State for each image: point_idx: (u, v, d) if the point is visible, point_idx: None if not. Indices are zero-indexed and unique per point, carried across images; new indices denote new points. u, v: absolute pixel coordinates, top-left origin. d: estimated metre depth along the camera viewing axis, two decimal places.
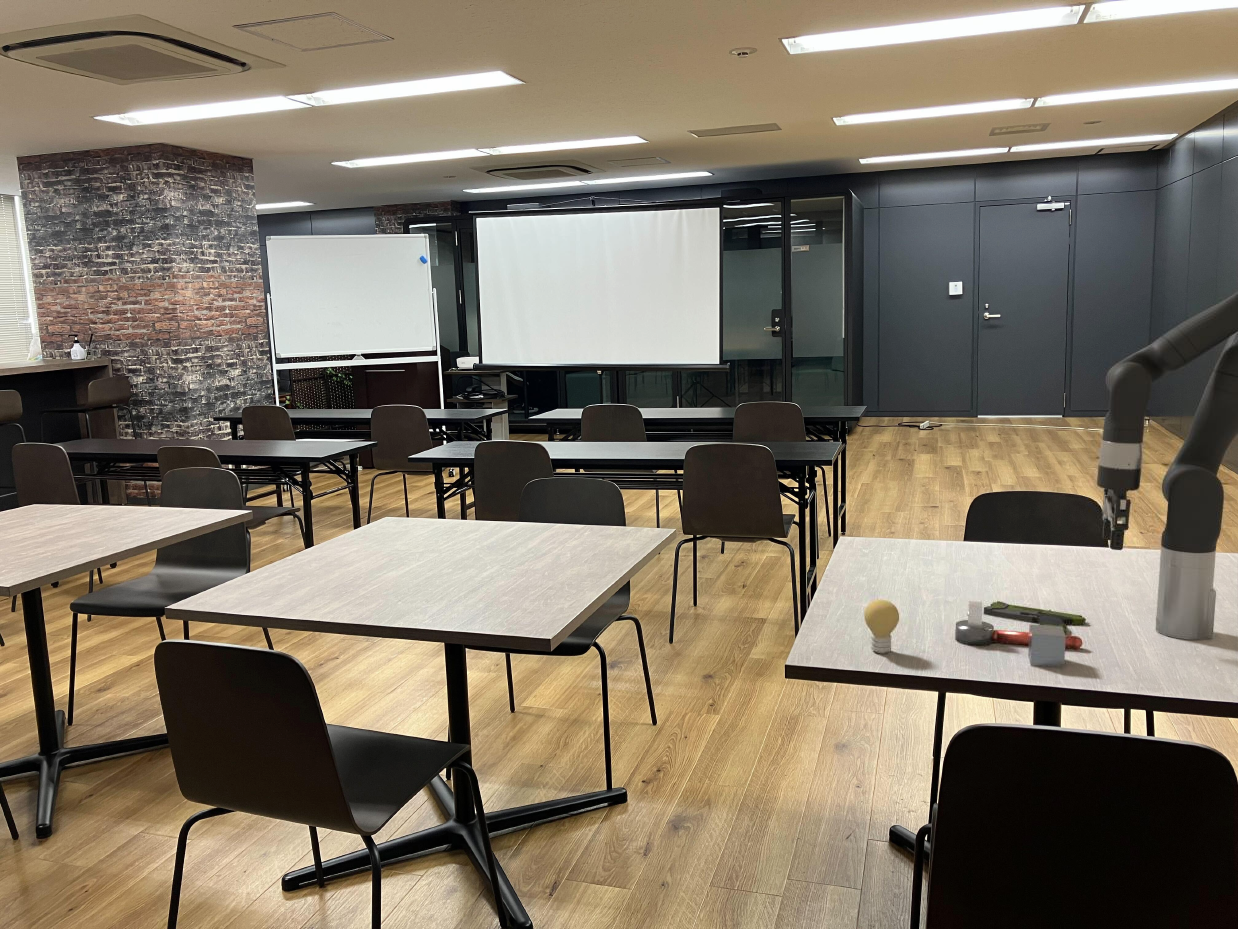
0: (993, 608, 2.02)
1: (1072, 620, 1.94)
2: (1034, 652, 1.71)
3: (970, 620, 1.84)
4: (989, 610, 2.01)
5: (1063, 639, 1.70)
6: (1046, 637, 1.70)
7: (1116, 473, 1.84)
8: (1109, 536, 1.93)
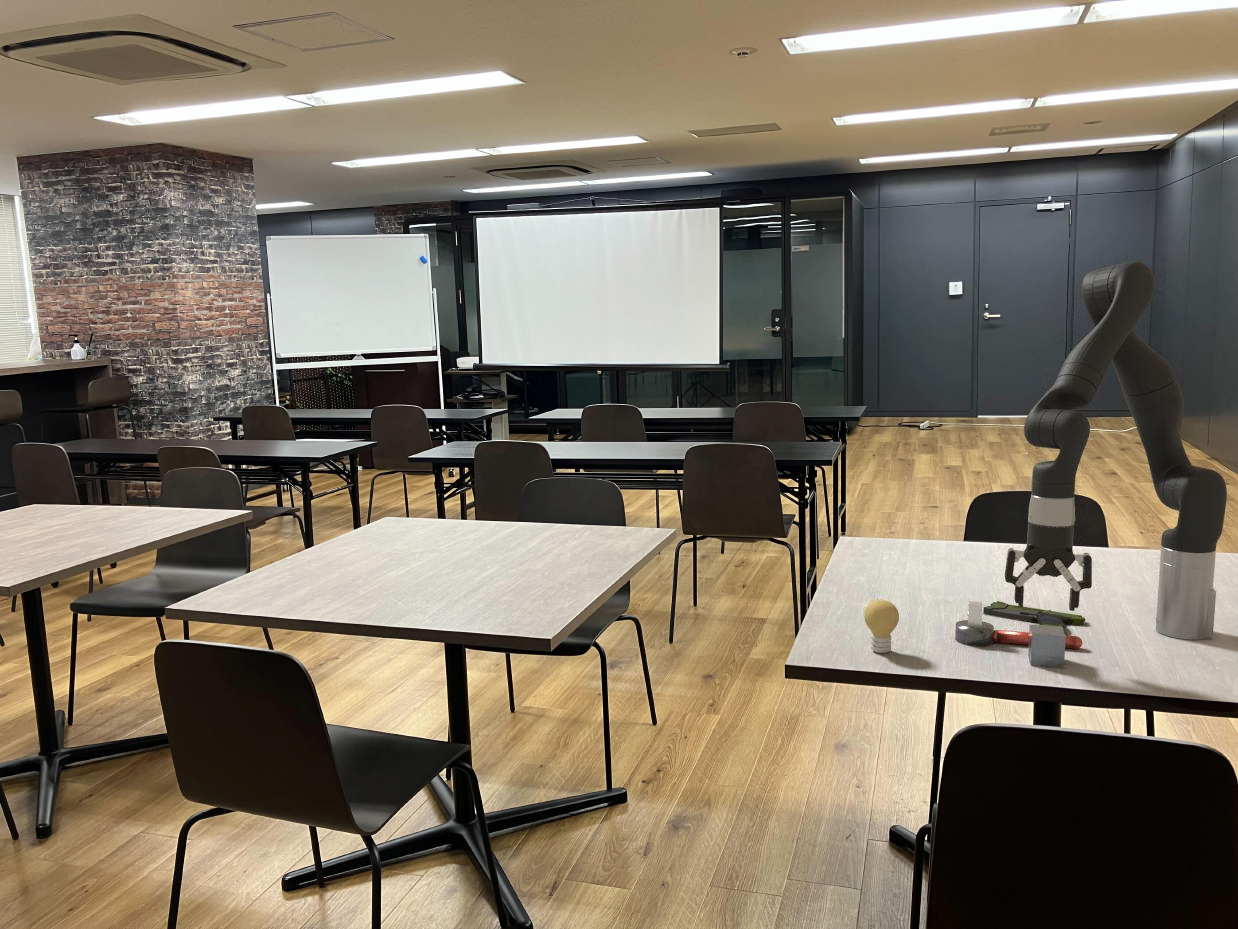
0: (993, 608, 2.02)
1: (1072, 620, 1.94)
2: (1034, 652, 1.71)
3: (970, 620, 1.84)
4: (989, 610, 2.01)
5: (1063, 639, 1.70)
6: (1046, 637, 1.70)
7: (1073, 530, 1.68)
8: None
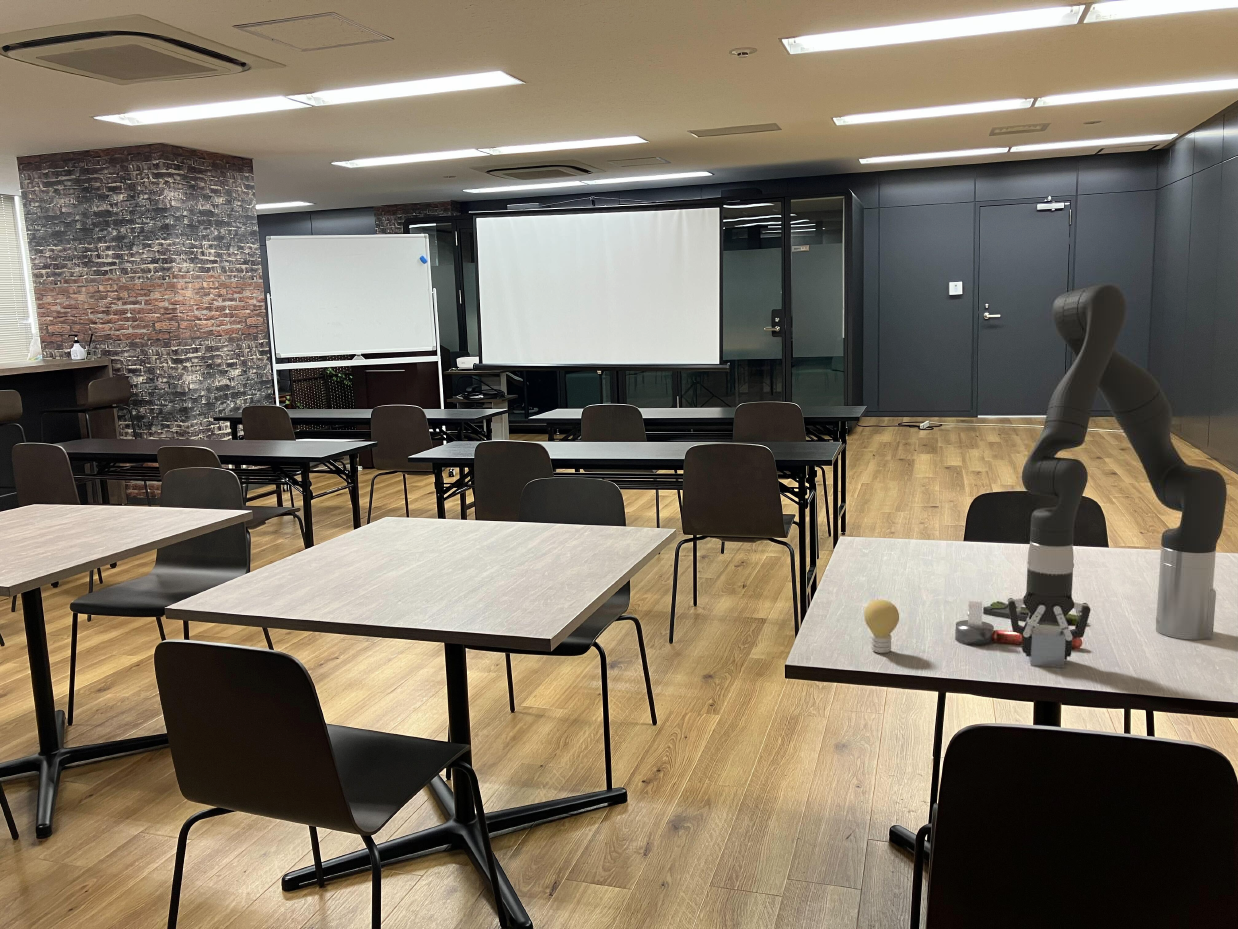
0: (993, 608, 2.02)
1: (1072, 620, 1.94)
2: (1034, 652, 1.71)
3: (970, 620, 1.84)
4: (989, 610, 2.01)
5: (1063, 639, 1.70)
6: (1046, 637, 1.70)
7: (1072, 576, 1.69)
8: None
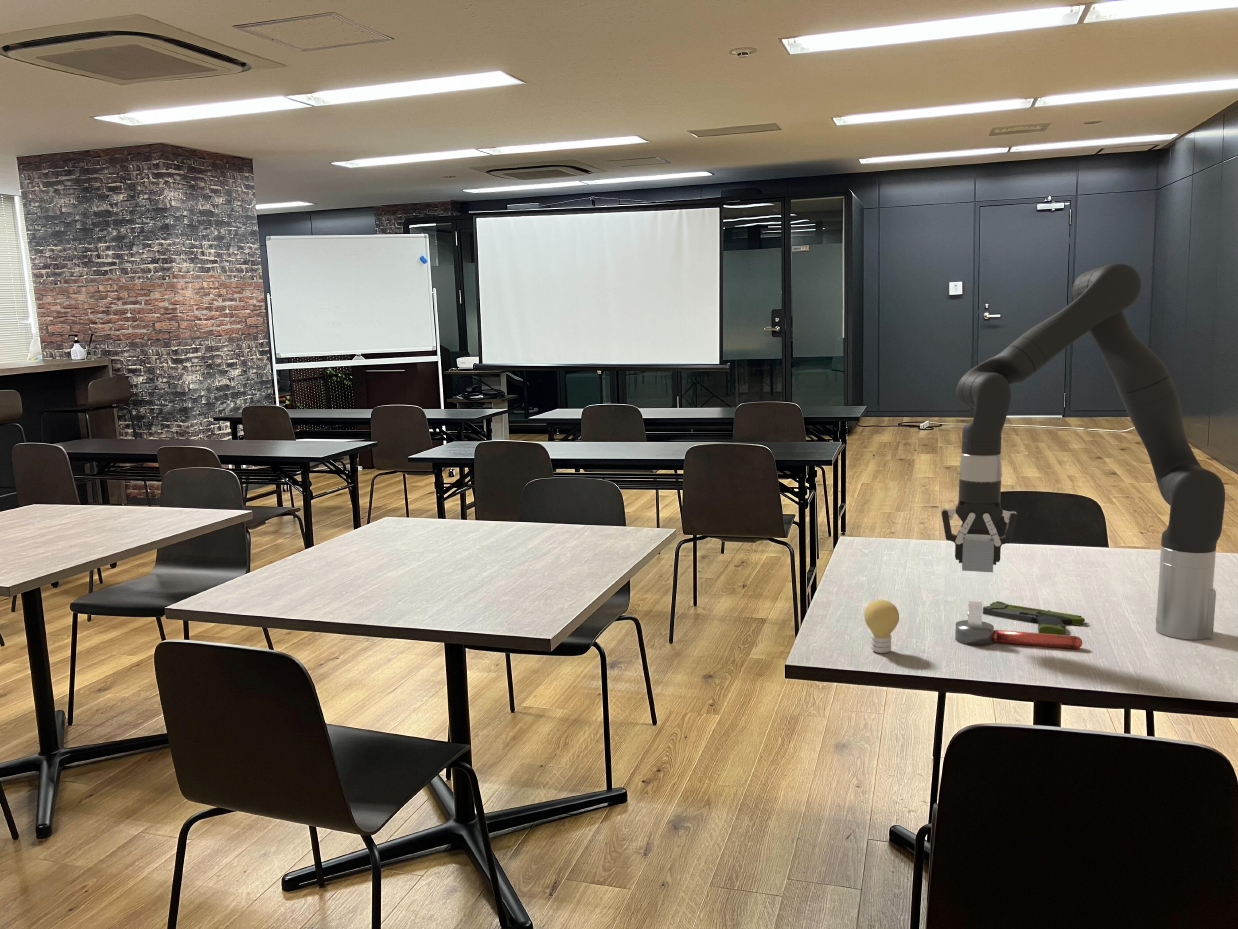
0: (992, 608, 2.02)
1: (1071, 620, 1.94)
2: (965, 558, 1.82)
3: (970, 620, 1.84)
4: (988, 610, 2.01)
5: (992, 545, 1.80)
6: (976, 543, 1.81)
7: (1000, 485, 1.79)
8: None
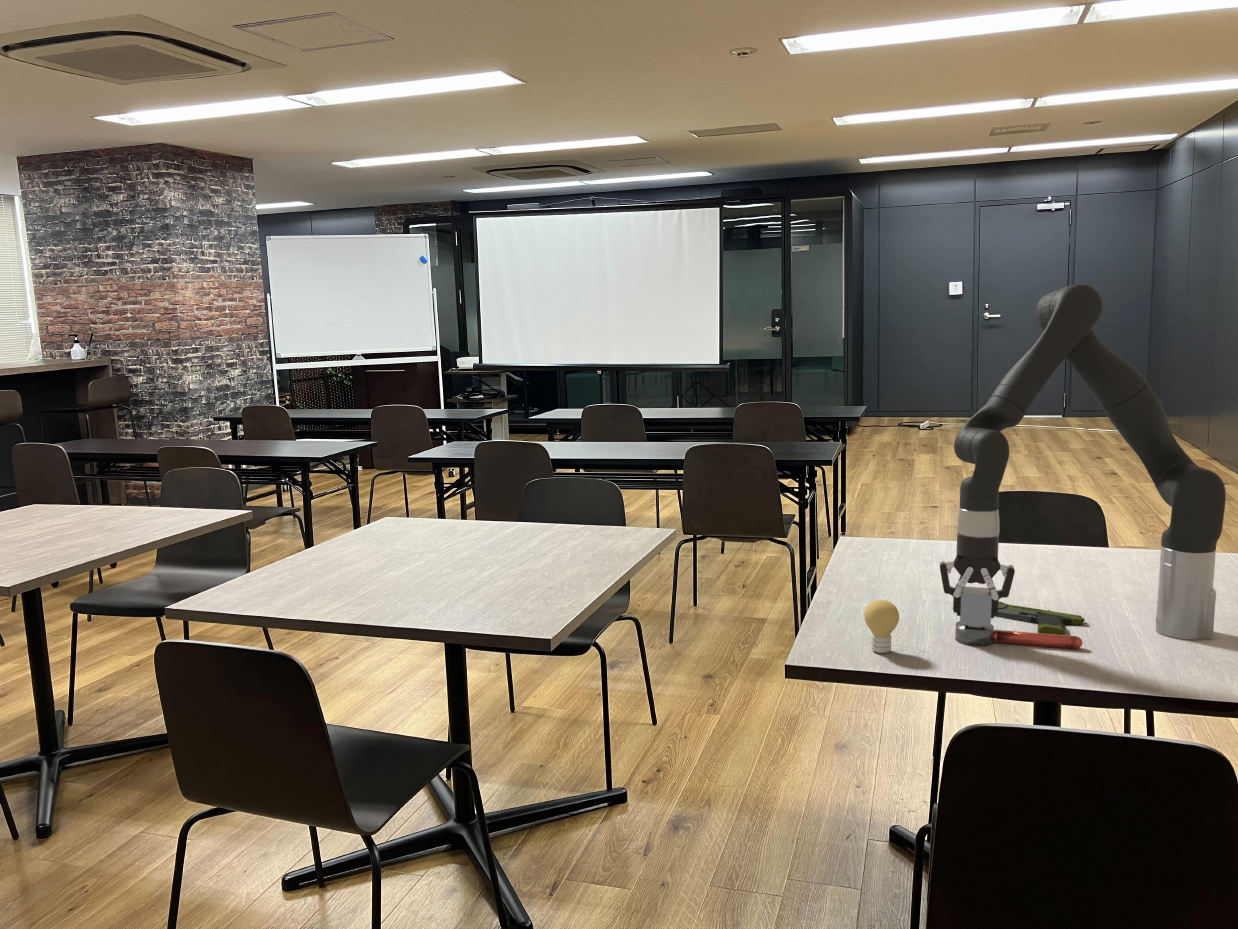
0: None
1: (1071, 620, 1.94)
2: (963, 611, 1.83)
3: None
4: None
5: (989, 599, 1.81)
6: (974, 597, 1.82)
7: (998, 540, 1.81)
8: None
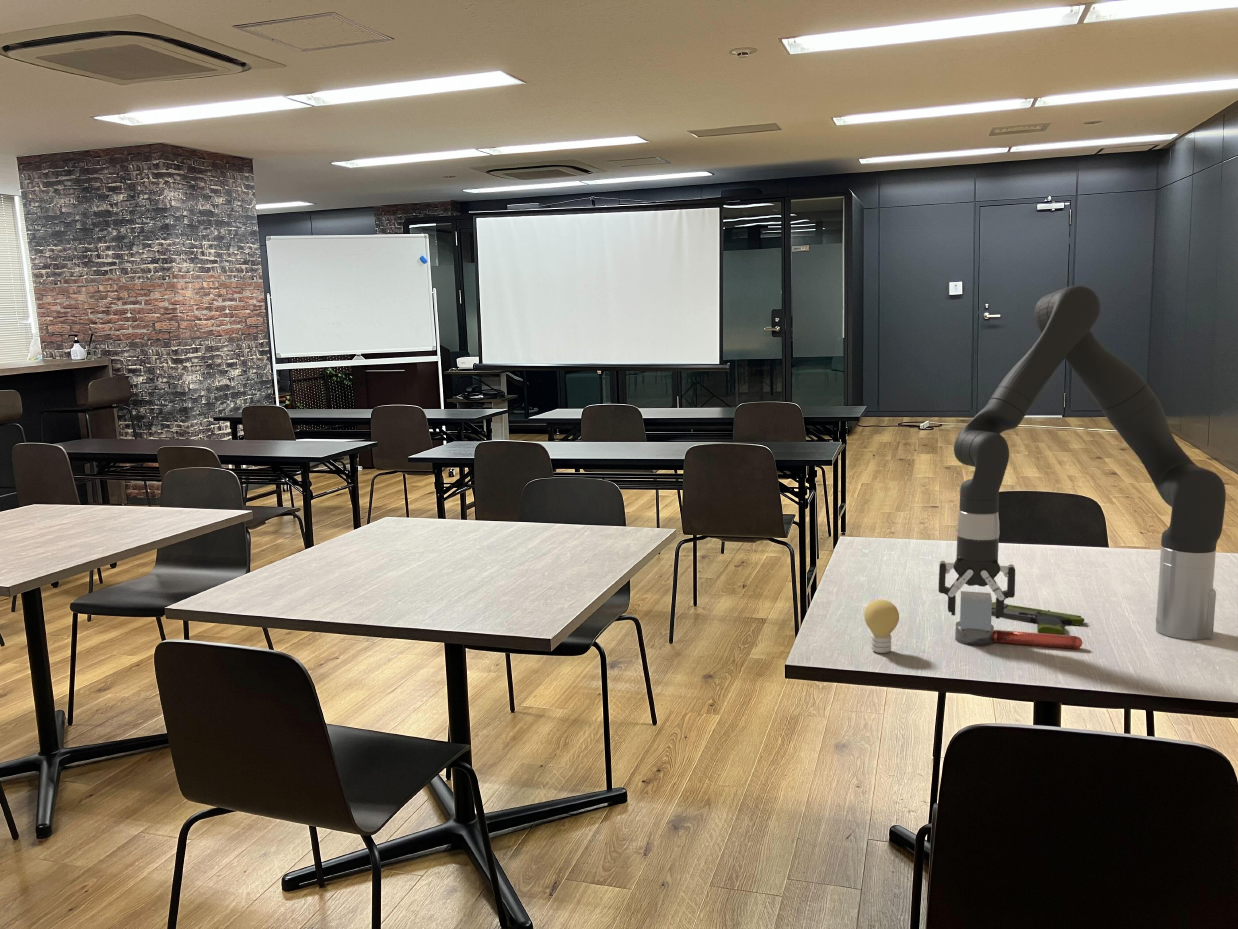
0: (992, 608, 2.02)
1: (1071, 620, 1.94)
2: (963, 616, 1.83)
3: None
4: None
5: (990, 604, 1.81)
6: (974, 602, 1.82)
7: (997, 542, 1.81)
8: None
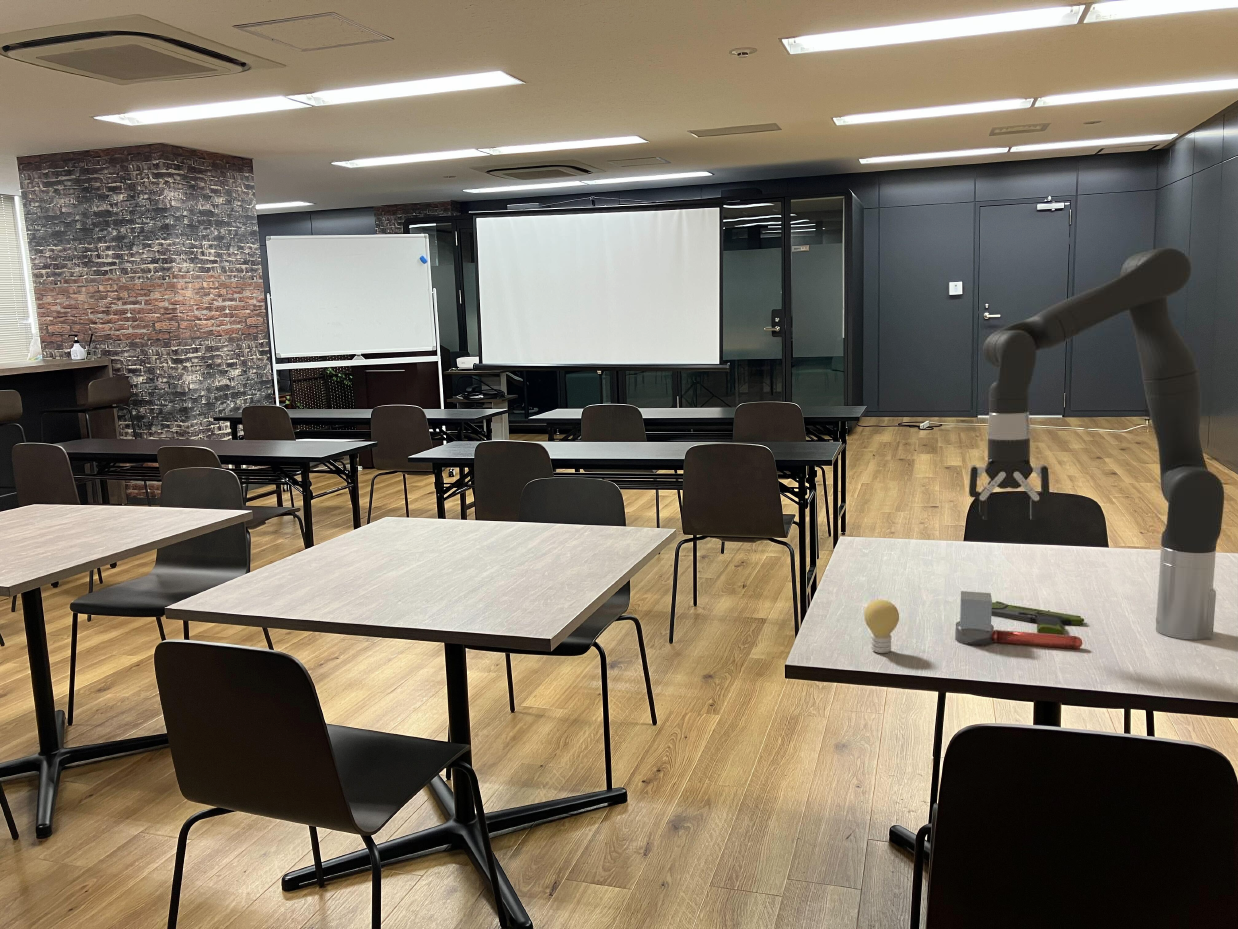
0: (992, 608, 2.02)
1: (1071, 620, 1.94)
2: (963, 616, 1.83)
3: None
4: None
5: (990, 604, 1.81)
6: (974, 602, 1.82)
7: (1029, 443, 1.79)
8: None
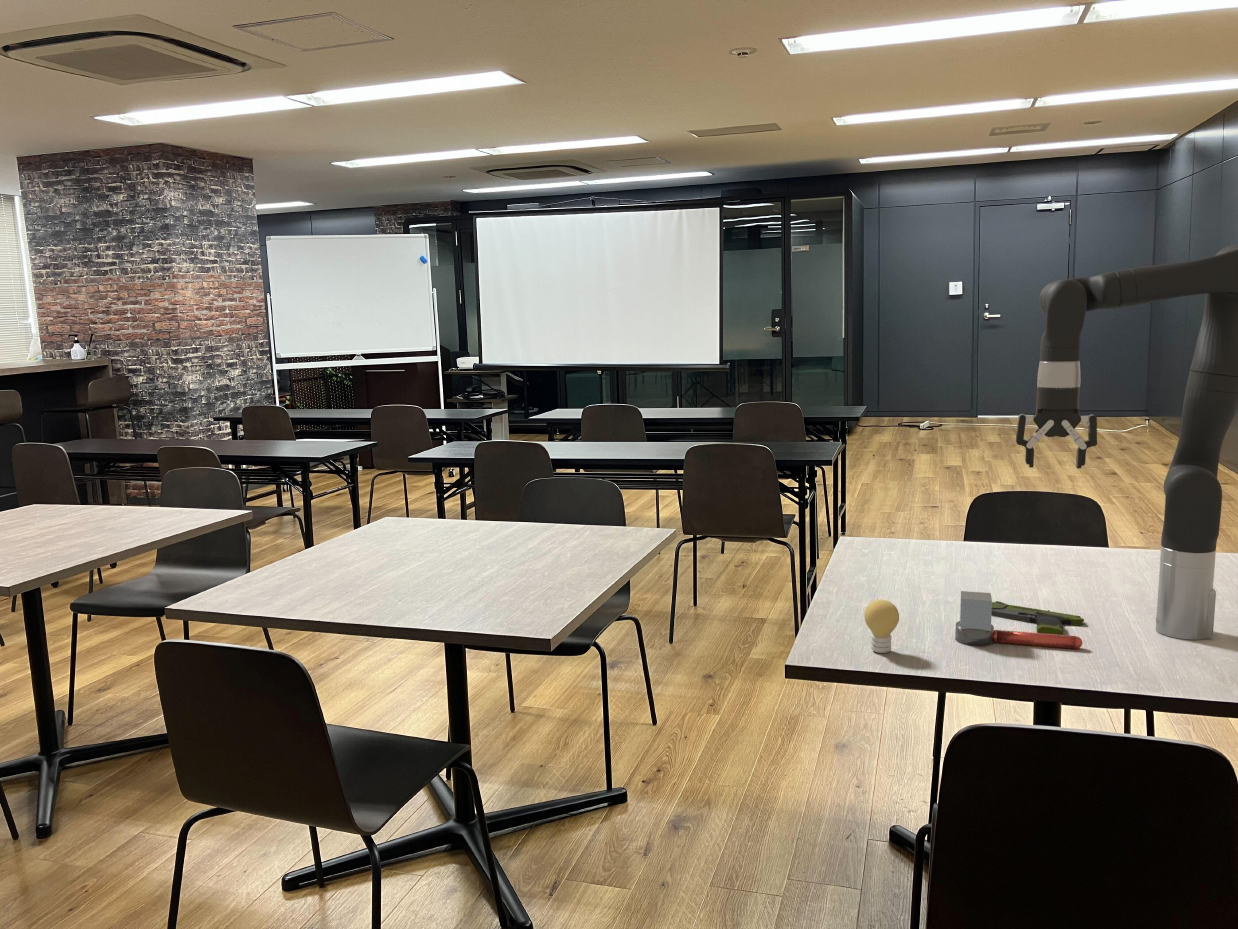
0: None
1: (1070, 621, 1.94)
2: (963, 616, 1.83)
3: None
4: None
5: (990, 604, 1.81)
6: (974, 602, 1.82)
7: (1079, 392, 1.82)
8: None
